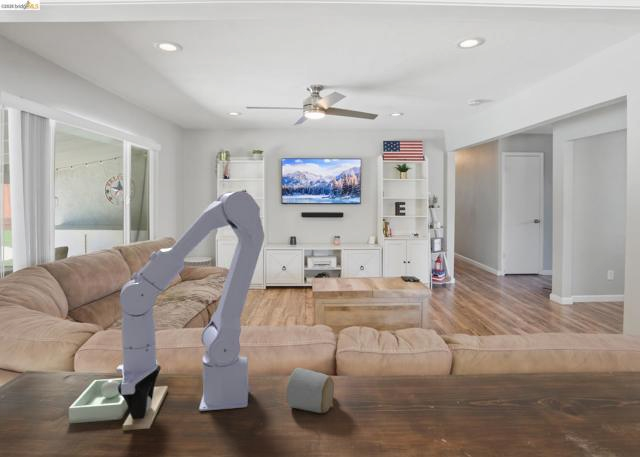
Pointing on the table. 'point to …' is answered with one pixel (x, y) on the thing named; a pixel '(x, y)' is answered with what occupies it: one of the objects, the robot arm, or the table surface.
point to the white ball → (110, 389)
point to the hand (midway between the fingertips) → (141, 411)
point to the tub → (97, 405)
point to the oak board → (150, 415)
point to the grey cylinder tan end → (310, 391)
